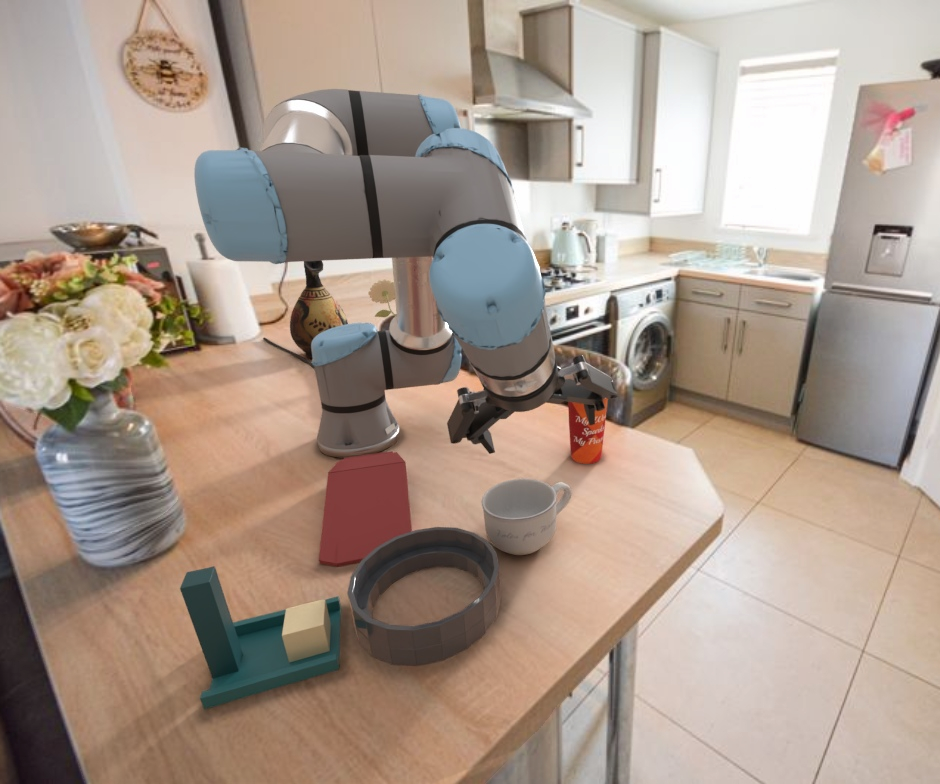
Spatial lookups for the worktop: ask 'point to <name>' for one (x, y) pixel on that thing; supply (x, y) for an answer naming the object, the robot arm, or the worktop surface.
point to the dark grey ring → (410, 557)
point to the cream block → (306, 630)
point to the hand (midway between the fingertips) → (540, 429)
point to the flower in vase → (383, 295)
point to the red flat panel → (363, 507)
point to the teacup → (522, 514)
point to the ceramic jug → (314, 310)
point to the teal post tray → (248, 644)
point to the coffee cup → (586, 433)
